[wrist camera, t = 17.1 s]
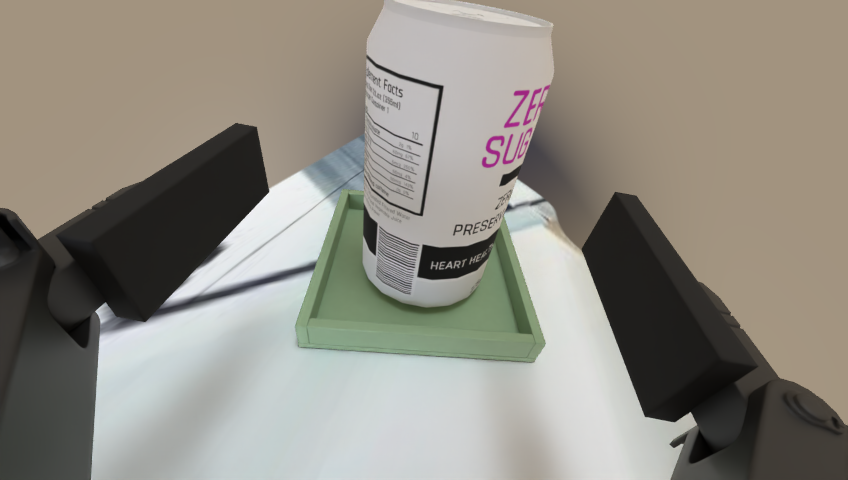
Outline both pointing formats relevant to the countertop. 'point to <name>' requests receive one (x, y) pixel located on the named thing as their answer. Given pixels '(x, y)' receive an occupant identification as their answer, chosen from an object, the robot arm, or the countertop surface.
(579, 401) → the countertop surface
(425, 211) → the supplement can
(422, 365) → the countertop surface
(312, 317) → the can tray
